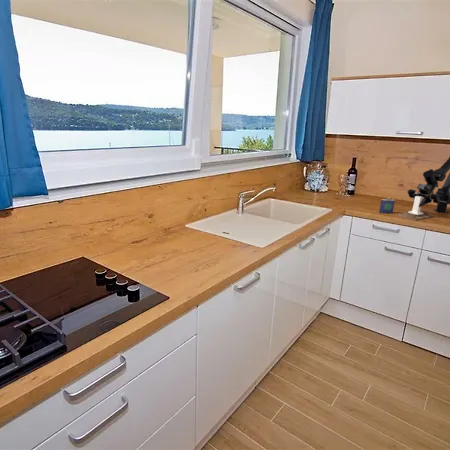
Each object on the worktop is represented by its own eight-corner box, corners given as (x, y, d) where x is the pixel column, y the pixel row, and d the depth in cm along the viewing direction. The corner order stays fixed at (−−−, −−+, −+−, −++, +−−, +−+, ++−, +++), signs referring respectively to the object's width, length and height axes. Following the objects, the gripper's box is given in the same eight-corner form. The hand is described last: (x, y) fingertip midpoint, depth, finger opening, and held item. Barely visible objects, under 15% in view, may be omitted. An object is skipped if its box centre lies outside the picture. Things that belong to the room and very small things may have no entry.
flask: (391, 212, 222) (394, 196, 219) (393, 213, 219) (396, 197, 216) (378, 212, 221) (380, 196, 218) (380, 213, 218) (383, 197, 215)
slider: (413, 211, 218) (416, 195, 214) (423, 214, 212) (426, 197, 209) (408, 212, 215) (411, 196, 211) (417, 215, 209) (421, 198, 206)
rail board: (415, 212, 224) (416, 208, 223) (433, 216, 215) (434, 212, 214) (397, 215, 214) (398, 211, 214) (415, 220, 205) (416, 216, 204)
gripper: (412, 176, 217) (398, 194, 214) (441, 181, 201) (427, 201, 199) (416, 188, 223) (403, 205, 221) (445, 193, 208) (432, 212, 205)
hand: (416, 206), depth 211 cm, fingers closed on slider, 3 cm apart
